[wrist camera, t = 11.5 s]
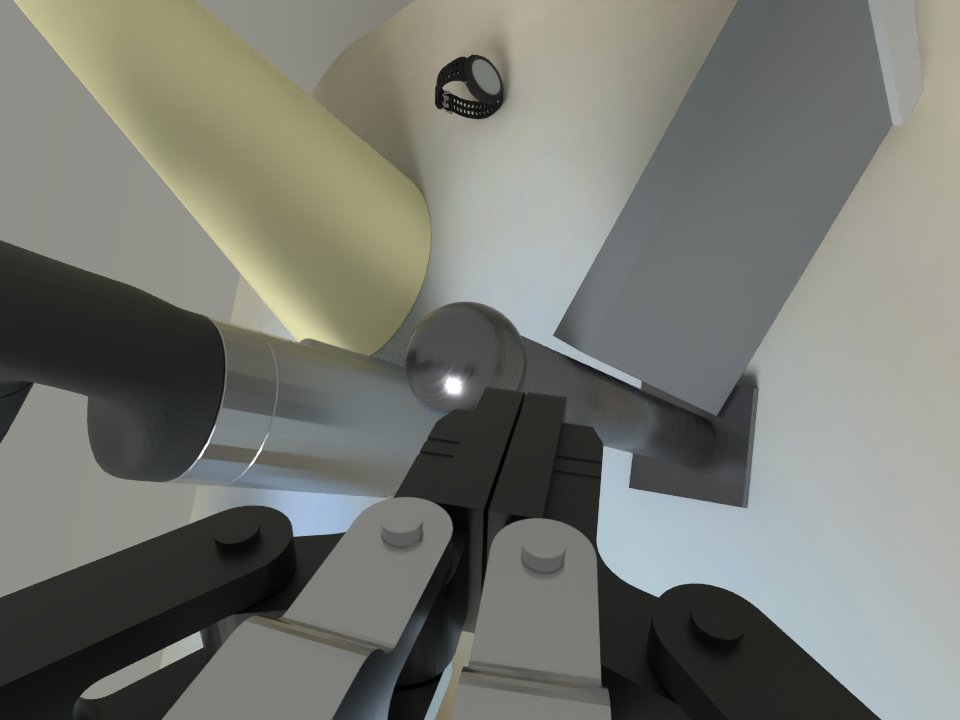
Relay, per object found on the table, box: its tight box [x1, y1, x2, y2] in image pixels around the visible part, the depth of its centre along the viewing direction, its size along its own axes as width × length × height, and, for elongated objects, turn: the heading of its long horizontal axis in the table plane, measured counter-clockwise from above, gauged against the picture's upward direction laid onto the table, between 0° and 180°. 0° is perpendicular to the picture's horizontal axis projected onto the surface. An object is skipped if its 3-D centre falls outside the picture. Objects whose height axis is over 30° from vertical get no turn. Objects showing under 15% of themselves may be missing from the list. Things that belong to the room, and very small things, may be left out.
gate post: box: [405, 302, 758, 508], centre depth 25 cm, size 6×6×21 cm
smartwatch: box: [435, 55, 503, 119], centre depth 47 cm, size 4×5×5 cm
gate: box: [553, 0, 924, 416], centre depth 25 cm, size 18×2×15 cm, turn 144°
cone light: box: [14, 0, 431, 356], centre depth 42 cm, size 25×18×35 cm
